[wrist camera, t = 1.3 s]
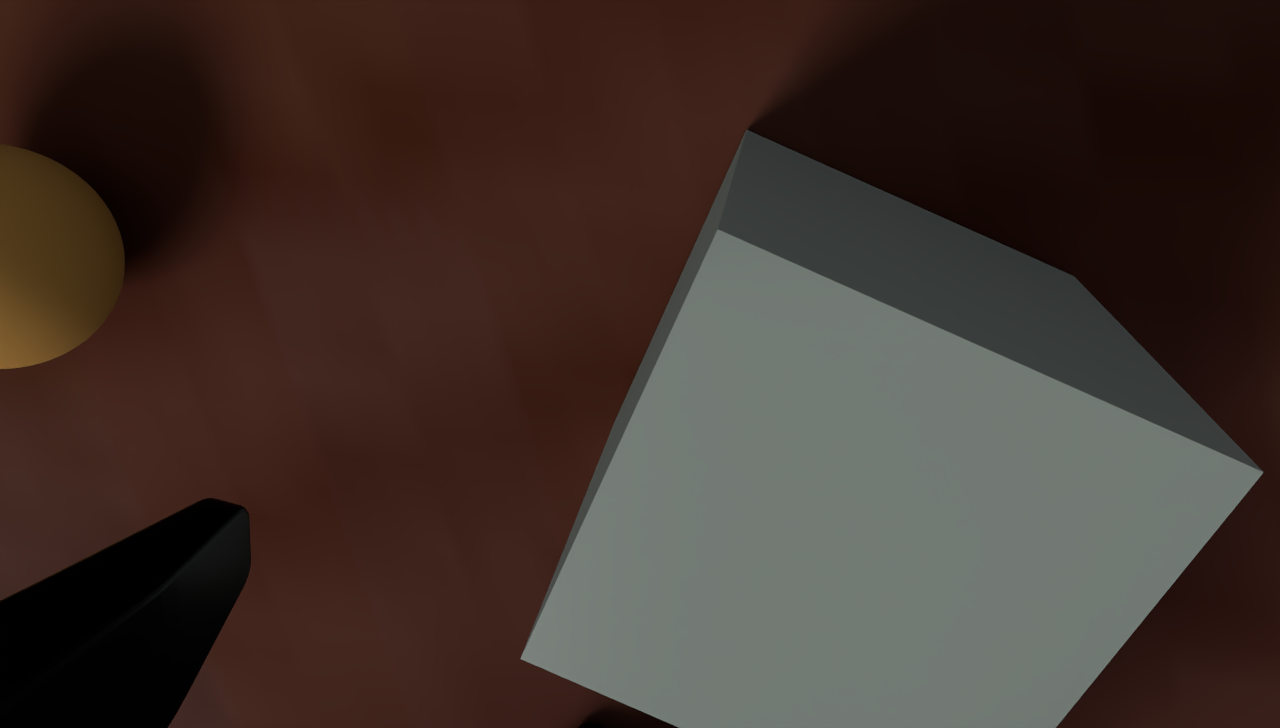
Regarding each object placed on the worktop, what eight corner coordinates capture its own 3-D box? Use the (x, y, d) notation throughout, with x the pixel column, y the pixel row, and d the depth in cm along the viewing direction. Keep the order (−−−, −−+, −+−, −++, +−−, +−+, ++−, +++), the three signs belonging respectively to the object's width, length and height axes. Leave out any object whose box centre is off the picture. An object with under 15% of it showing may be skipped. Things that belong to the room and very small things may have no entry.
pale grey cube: (1074, 275, 20) (1263, 472, 12) (898, 547, 23) (957, 848, 15) (746, 129, 20) (717, 229, 12) (614, 422, 23) (520, 658, 15)
